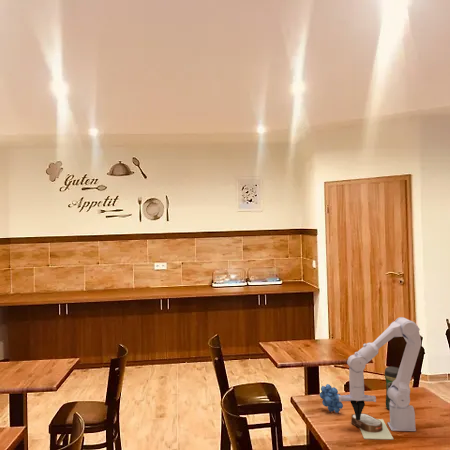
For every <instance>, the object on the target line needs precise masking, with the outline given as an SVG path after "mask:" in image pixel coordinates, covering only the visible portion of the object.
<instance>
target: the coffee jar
mask: <svg viewBox="0 0 450 450" xmlns="http://www.w3.org/2000/svg"><path fill="white" fill-rule="evenodd" d="M398 371H399V367H397V366H387V367H385V369H384V379H385V386H386V388H385V389H386V390H385V394H386V395H385V409H387V410H389V411H390V407H389V403H390V399H389V397H388V395H387V391H388V389H389V388H390V387H391V385H392V382H393V381H394V380H396V377H397V374H398Z"/></svg>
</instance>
